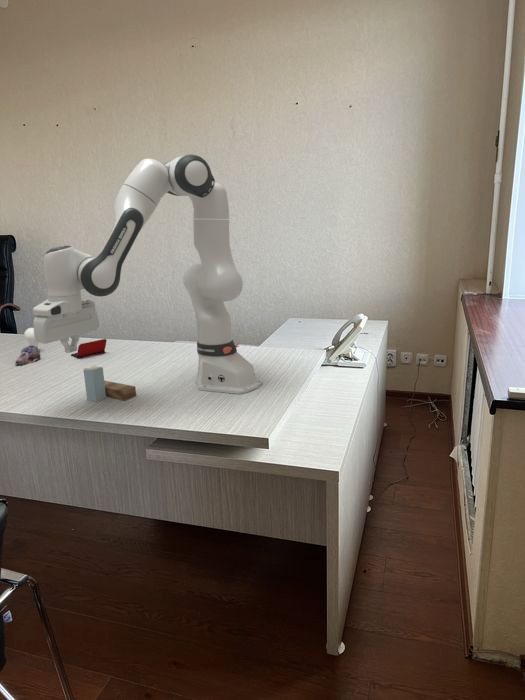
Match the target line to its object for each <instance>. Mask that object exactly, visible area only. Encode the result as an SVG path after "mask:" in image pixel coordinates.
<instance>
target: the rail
mask: <svg viewBox="0 0 525 700" xmlns="http://www.w3.org/2000/svg"><path fill="white" fill-rule="evenodd" d="M104 383H105V392H106V398H111V399H114V400H115V399H116V400H119V401H120V400H121V401H123V402H124V401H125V402H126V401H127V400H129V399H132V398H135V397H136V396H137V390H136V389H137V388H136V386H134V385H129V384H125V383H120V382H119V383H118V382H115V381H111V380H106V379H104Z"/></svg>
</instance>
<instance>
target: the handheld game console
mask: <svg viewBox="0 0 525 700" xmlns="http://www.w3.org/2000/svg"><path fill="white" fill-rule="evenodd" d="M107 342H108V341H107V339H106V338H102V339H98V340H93V341H89V342H84V343H80V344H78V345H77V352H75V353H71V354H70V356H71V357H72V358H75V359H82V358H84V357H85V358H86V357H91V356H94V355H95V356H96V355H99V354H100V355H101V354H104V353H105V352H106V351H105V350H106V345H107Z"/></svg>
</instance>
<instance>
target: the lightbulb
mask: <svg viewBox="0 0 525 700" xmlns="http://www.w3.org/2000/svg"><path fill="white" fill-rule="evenodd" d="M23 338H24V340H25V341H26V342H27V343H28V346H30V345H34V346H36V347H37V348H38V349H39V343H38V342H37V341H36V340H35V336H34V327H29V328H27V329H25V331H24V333H23Z"/></svg>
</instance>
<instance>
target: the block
mask: <svg viewBox="0 0 525 700" xmlns="http://www.w3.org/2000/svg"><path fill="white" fill-rule="evenodd" d="M83 376H84V385H85V392H86V393H85V395H86V401H89V400H90V401H89V402H93V401H94V402H95V403H98V402H100V401H104V400H105V399H107V397H106V392H105V383H104V380H105V375H104V367H102V366H99V365H91V366H88V367H85V368H83Z"/></svg>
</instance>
